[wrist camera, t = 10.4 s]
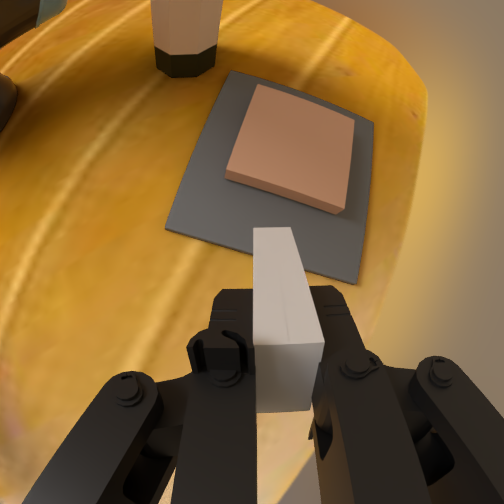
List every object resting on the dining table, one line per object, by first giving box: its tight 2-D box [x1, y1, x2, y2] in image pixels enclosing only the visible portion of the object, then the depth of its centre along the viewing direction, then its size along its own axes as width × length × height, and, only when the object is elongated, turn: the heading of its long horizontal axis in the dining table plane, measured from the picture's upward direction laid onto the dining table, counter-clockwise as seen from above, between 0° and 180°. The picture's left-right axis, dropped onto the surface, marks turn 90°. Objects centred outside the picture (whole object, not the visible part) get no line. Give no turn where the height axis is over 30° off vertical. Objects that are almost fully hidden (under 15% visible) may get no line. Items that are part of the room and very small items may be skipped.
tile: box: [224, 84, 355, 215], centre depth 29 cm, size 2×12×12 cm
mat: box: [165, 70, 374, 285], centre depth 30 cm, size 22×20×1 cm
